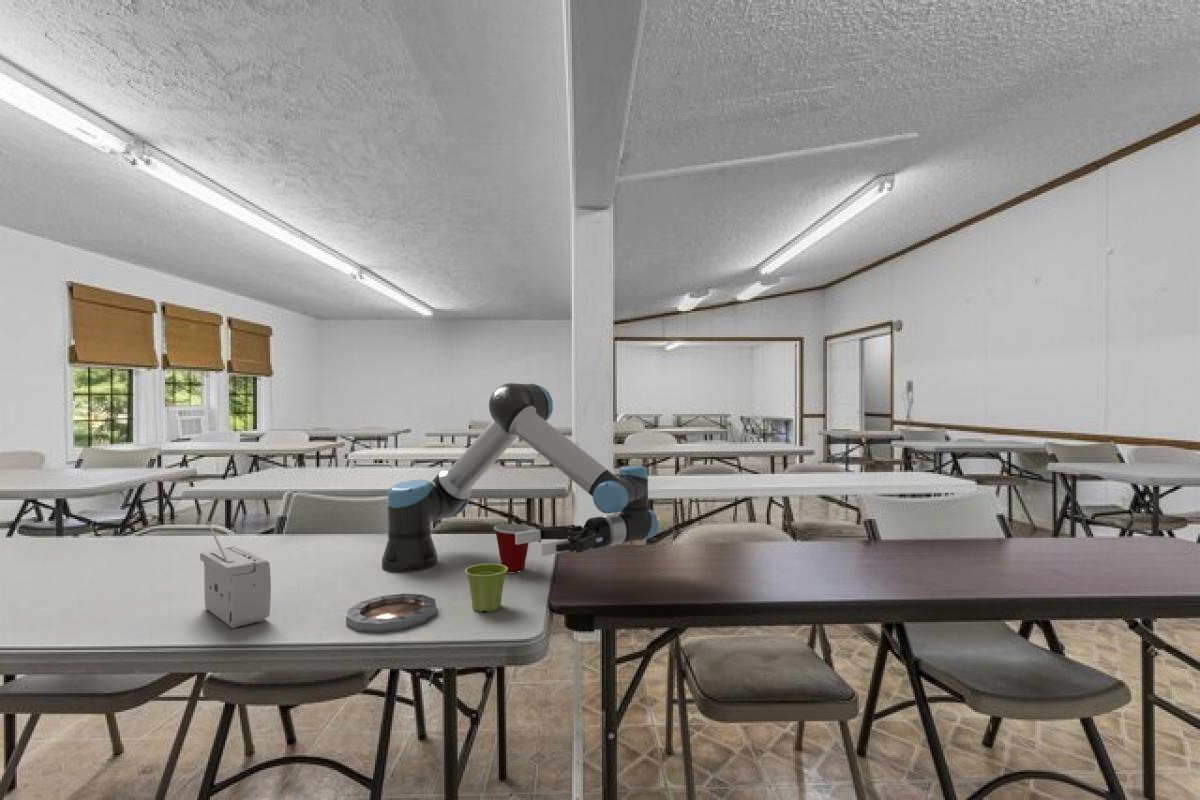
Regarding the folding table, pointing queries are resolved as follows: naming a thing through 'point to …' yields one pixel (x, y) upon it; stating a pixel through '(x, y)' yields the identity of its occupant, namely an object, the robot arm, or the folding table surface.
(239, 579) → the stereo radio cassette player
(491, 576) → the plant pot
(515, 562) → the plastic cup
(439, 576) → the folding table surface
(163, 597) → the folding table surface
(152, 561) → the folding table surface
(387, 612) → the steel ring
